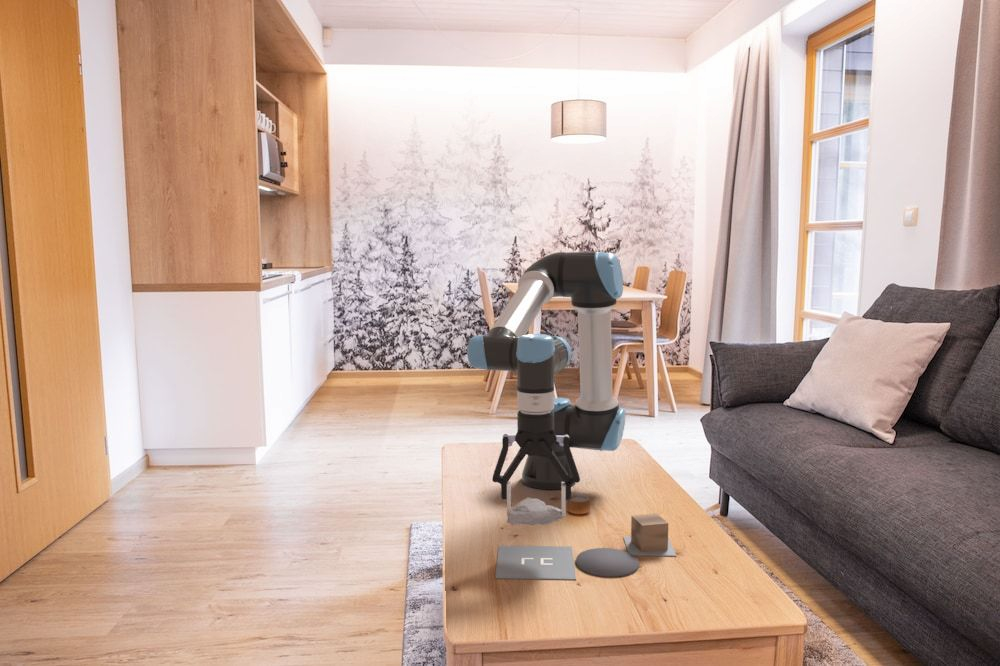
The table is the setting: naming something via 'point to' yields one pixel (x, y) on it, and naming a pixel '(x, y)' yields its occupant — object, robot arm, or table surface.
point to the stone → (533, 513)
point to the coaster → (607, 562)
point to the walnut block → (649, 532)
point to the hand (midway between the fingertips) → (536, 514)
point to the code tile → (535, 562)
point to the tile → (637, 552)
